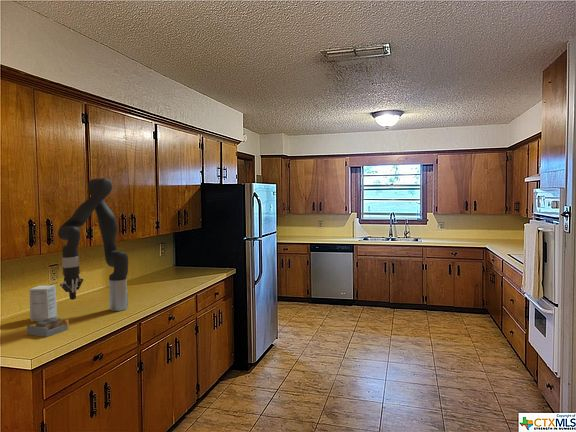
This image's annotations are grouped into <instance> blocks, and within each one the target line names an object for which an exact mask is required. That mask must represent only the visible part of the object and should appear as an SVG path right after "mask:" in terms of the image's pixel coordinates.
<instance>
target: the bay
mask: <svg viewBox="0 0 576 432" xmlns="http://www.w3.org/2000/svg"><path fill="white" fill-rule="evenodd" d="M48 319H49V318H48ZM69 330H70V319H66V320H64V324H63V325H62V326H59V327H56V328H54V329H51V330H48V328H46V327H38V326H36V325H30V324H29V325H26V335H28V336H29V335H30V336H35V337H36V336H37V337H41V338H48V337H51V336H53V335H57V334H59V333H62V332H65V331H69Z"/></svg>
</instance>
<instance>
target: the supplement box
mask: <svg viewBox="0 0 576 432" xmlns="http://www.w3.org/2000/svg"><path fill="white" fill-rule="evenodd" d="M28 293H29V311H30V312H29V314H30V315H29V316H30V322H39V321H43V320H46V319H48V318H57V317H58V305H57V303H58V301H57V286H56V285H37V286H35V287H32V288H30V289H29V292H28Z"/></svg>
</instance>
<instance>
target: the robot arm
mask: <svg viewBox="0 0 576 432" xmlns="http://www.w3.org/2000/svg"><path fill="white" fill-rule="evenodd" d="M87 187H88V188H87V189H88V193H89V195H90V197H89V198H87V199H86V200H85V201H84V202H82V203H81V204H80V205H79V206H78V207H77V208H76V210H75V211H74V212H73V213H72V216H71V217H70V218H69V219H68V220H66V221H65V222H63V224H62V225H61V226H60V227H59V228H58V231H57V237H58V238H59V239H60V240H64V241H67V243H66V245H63V246H62V249H61V250H62V251H61V252H62V262H61V263H62V275H63V281H62V282H61V283H60V284H59V286H60V287H61V288H62V289H63V291H64V292H66V293H68V294H69V295H68V296H69V297H68V298H69V299H70V300H71V301H72V300H76V298H77V290H80V288H81V286H82V284H83V282H84V278H81V277H80V272H81V270H80V257H79V250H78V249H79V245H80V240H81V230H80V229H79V228H80V227H83V226H84V225H85V223H87V221H88V220H89V217H90V216H91V214H92V213H93V212H94V211H95V214H96V217H97V222H98V228H99V230H100V231H99V232H100V235H101V240H102V243H103V251H104V258H105V263H106V265H107V266H109V267H111V268H113V272H112V273H110V274H109V276H108V285H109V287H108V289H109V291H108V292H109V294H108V295H109V310H110V311H111V312H121V311H125V310H128V308H129V292H128V288H127V287H128V286H127V285H128V284H127V283H128V282H127V280H128V279H127V276H128V274H129V258H128V257H129V256H128V254H127V253H126V252H125V251H118V248H117V243H116V237H117V234H118V230H119V229H118V227H119V226H118V223H117V218H116V216H115V214H114V212H113V211H112V209H111V208H110V207H109V205H108V204H107V202H106V200H105V198H106V197H108V195H109V194H110V193H111V192H112V190H113V183H112V181H111V180H110V179H108V178H106V177H105V178H104V177H101V178H92V179H90V180H89V182H88V184H87Z"/></svg>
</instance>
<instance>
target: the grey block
mask: <svg viewBox="0 0 576 432" xmlns="http://www.w3.org/2000/svg"><path fill="white" fill-rule="evenodd" d="M35 326H38V327H46V328H48V330H51V329H54V328H56V327H59V326H62V318H57V317H54V318H49V319H46V320H43V321H35Z"/></svg>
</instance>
